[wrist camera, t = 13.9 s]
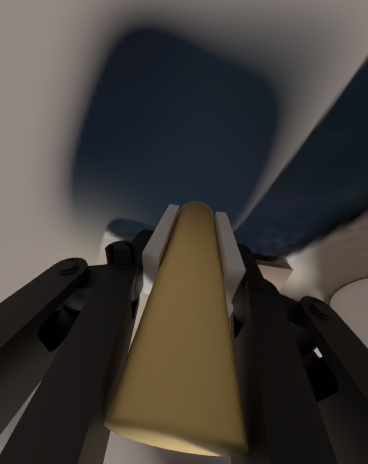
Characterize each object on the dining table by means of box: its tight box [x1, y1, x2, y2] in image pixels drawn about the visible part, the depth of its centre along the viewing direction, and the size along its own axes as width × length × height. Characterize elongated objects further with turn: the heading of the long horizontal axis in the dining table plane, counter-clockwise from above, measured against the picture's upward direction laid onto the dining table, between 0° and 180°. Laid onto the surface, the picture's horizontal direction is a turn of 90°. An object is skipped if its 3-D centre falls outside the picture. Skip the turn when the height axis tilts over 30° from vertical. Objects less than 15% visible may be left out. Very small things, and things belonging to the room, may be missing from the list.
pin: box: [104, 202, 249, 456], centre depth 9 cm, size 3×3×12 cm
